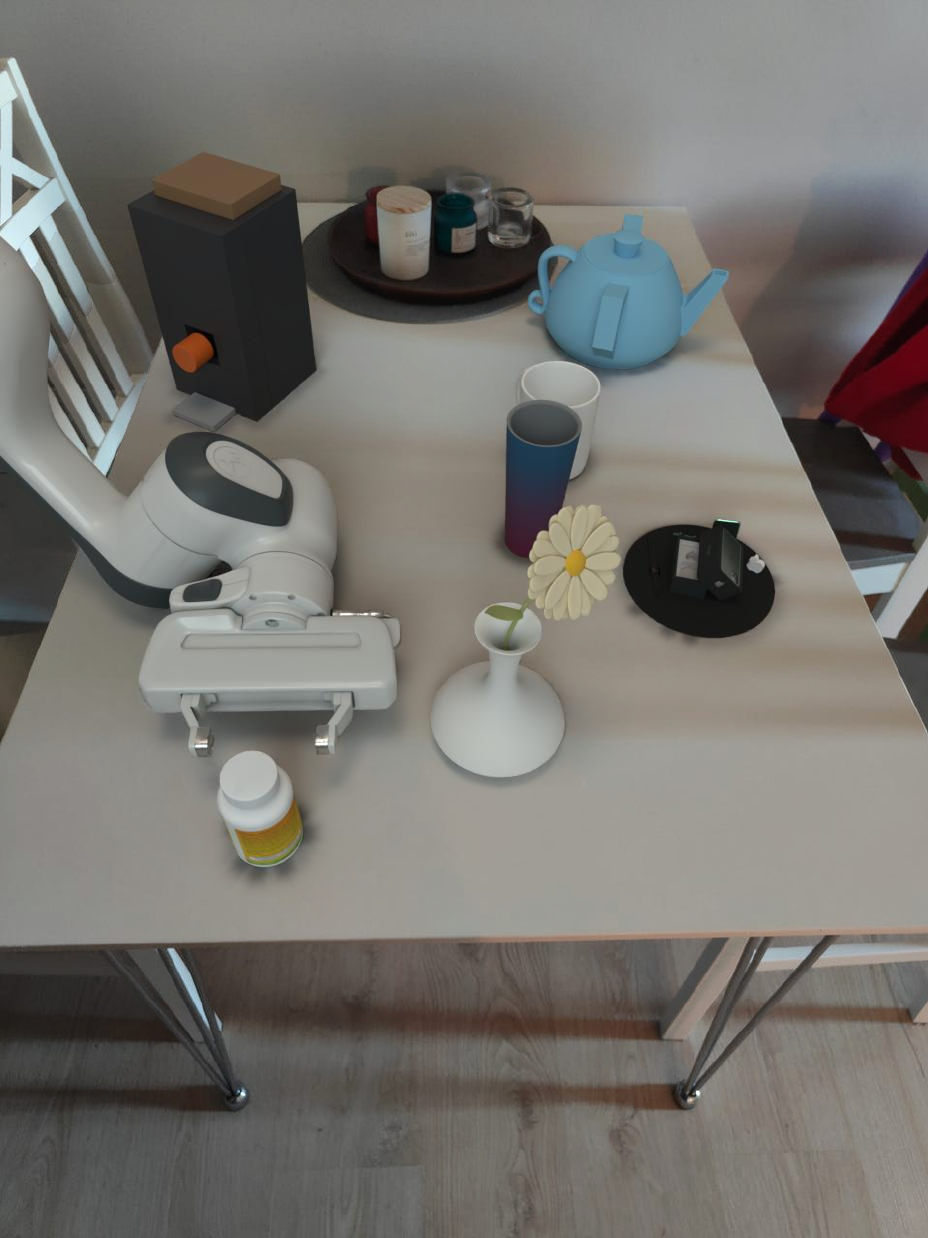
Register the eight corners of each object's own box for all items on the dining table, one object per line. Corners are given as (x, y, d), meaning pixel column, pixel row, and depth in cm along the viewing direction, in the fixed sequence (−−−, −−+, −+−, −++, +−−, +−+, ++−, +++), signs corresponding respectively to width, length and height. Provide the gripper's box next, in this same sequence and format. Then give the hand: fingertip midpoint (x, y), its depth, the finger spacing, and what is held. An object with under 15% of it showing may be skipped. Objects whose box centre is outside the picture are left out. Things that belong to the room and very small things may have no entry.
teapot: (589, 392, 104) (608, 287, 94) (510, 316, 115) (518, 213, 104) (711, 354, 111) (741, 251, 100) (625, 285, 121) (644, 185, 111)
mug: (485, 430, 99) (490, 352, 91) (546, 412, 102) (556, 335, 94) (536, 493, 93) (546, 416, 85) (600, 472, 95) (616, 395, 87)
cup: (507, 569, 85) (520, 451, 74) (487, 523, 89) (497, 404, 78) (571, 558, 87) (593, 440, 75) (549, 513, 91) (567, 394, 79)
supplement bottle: (318, 830, 67) (304, 768, 59) (268, 883, 64) (247, 825, 56) (268, 792, 69) (249, 727, 61) (219, 841, 66) (192, 780, 58)
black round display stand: (773, 652, 80) (793, 614, 75) (614, 620, 82) (624, 581, 77) (774, 541, 89) (791, 502, 85) (631, 515, 91) (641, 476, 87)
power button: (198, 376, 93) (192, 350, 91) (175, 367, 94) (169, 341, 92) (216, 362, 95) (210, 337, 93) (193, 354, 96) (187, 328, 94)
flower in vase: (450, 801, 69) (460, 599, 49) (415, 689, 76) (412, 473, 56) (600, 764, 71) (664, 559, 52) (553, 659, 78) (595, 443, 59)
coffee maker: (235, 440, 97) (190, 236, 78) (153, 407, 100) (92, 203, 82) (316, 370, 106) (293, 172, 88) (239, 341, 109) (201, 145, 91)
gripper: (402, 633, 76) (401, 770, 67) (169, 635, 75) (138, 775, 66) (400, 586, 71) (399, 727, 62) (151, 588, 70) (115, 732, 61)
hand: (262, 752), depth 64 cm, fingers open, 8 cm apart
